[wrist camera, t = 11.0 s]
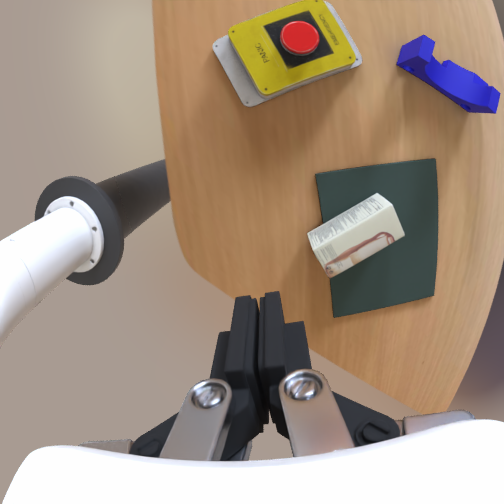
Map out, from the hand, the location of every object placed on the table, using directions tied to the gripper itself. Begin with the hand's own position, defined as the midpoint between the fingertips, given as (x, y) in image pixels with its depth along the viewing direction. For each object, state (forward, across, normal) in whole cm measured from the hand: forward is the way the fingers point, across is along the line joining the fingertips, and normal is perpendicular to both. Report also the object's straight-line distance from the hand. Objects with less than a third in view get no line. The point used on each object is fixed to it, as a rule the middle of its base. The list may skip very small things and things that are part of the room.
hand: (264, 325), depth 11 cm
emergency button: (+25, -6, -16) cm, 30 cm away
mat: (+24, -14, +8) cm, 30 cm away
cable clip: (+24, -25, -13) cm, 37 cm away
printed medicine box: (+22, -5, +8) cm, 24 cm away
